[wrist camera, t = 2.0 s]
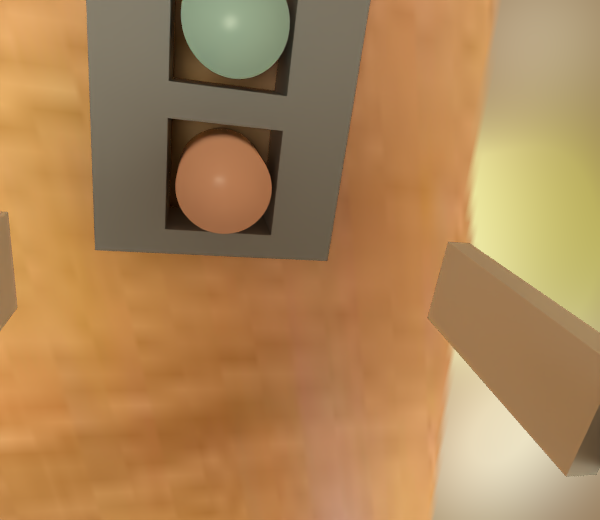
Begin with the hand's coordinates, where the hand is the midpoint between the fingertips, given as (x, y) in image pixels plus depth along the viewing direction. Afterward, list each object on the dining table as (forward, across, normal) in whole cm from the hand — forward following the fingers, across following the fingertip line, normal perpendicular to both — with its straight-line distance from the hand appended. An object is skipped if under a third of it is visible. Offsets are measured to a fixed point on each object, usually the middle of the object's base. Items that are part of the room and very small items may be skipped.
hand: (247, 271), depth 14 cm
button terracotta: (+13, 0, 0) cm, 13 cm away
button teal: (+13, 0, +7) cm, 15 cm away
